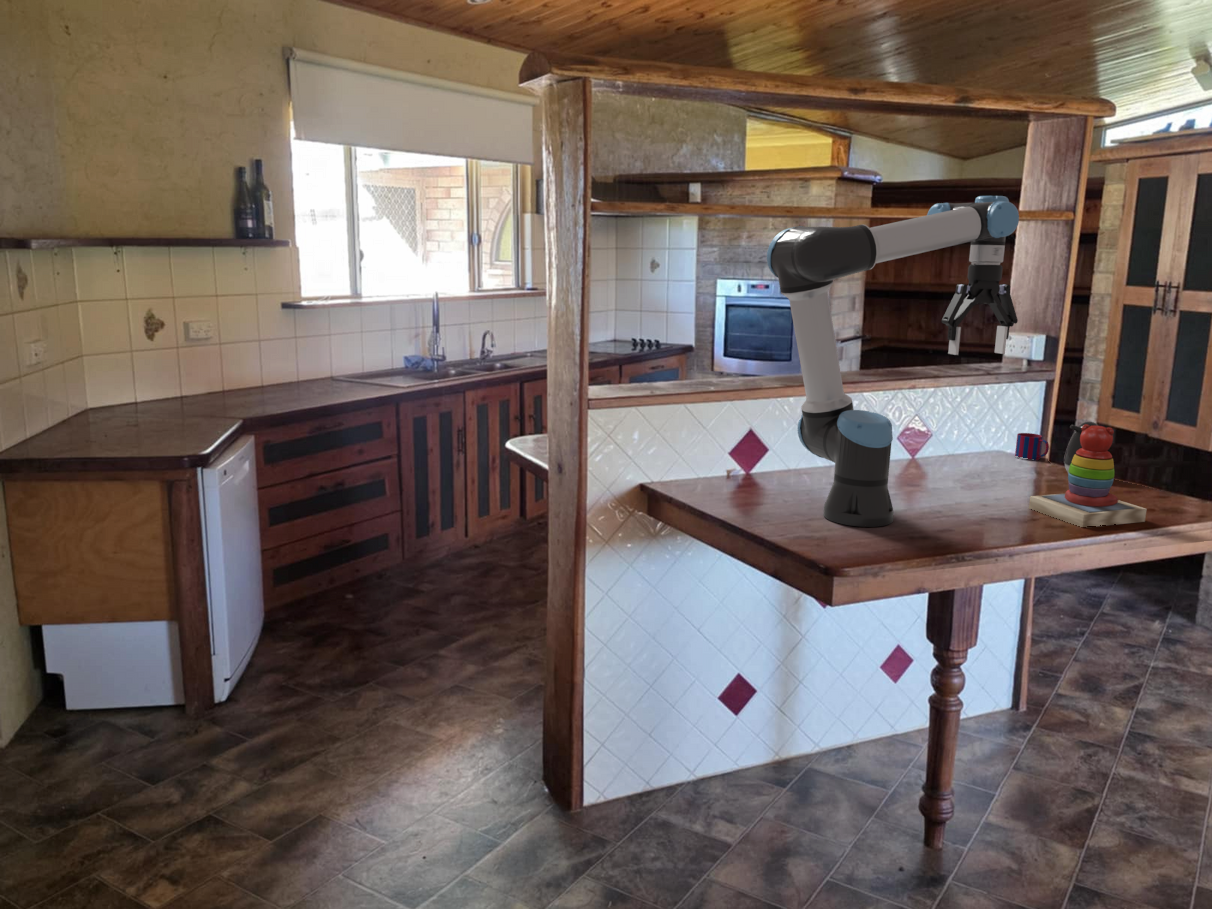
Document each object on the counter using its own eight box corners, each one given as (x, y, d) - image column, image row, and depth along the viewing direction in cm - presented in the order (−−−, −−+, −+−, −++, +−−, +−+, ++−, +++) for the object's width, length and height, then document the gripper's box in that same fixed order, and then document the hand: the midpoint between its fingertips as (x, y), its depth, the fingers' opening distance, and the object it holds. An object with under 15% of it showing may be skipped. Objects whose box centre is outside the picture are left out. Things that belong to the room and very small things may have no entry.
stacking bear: (1120, 502, 220) (1130, 425, 216) (1106, 510, 213) (1117, 431, 209) (1070, 493, 227) (1079, 419, 223) (1055, 501, 220) (1065, 424, 216)
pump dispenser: (1053, 472, 262) (1060, 418, 259) (1089, 472, 263) (1096, 418, 260) (1075, 482, 252) (1082, 425, 249) (1112, 481, 253) (1120, 425, 250)
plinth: (1082, 527, 210) (1083, 513, 209) (1028, 508, 225) (1030, 495, 224) (1144, 521, 216) (1146, 508, 215) (1088, 503, 231) (1090, 490, 230)
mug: (1028, 454, 284) (1030, 432, 283) (1053, 462, 275) (1056, 439, 274) (1009, 456, 282) (1012, 433, 281) (1034, 463, 273) (1037, 440, 272)
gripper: (952, 263, 218) (943, 356, 223) (1040, 264, 226) (1029, 354, 231) (931, 262, 225) (923, 352, 230) (1017, 263, 233) (1007, 351, 238)
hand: (976, 353), depth 230 cm, fingers open, 13 cm apart
